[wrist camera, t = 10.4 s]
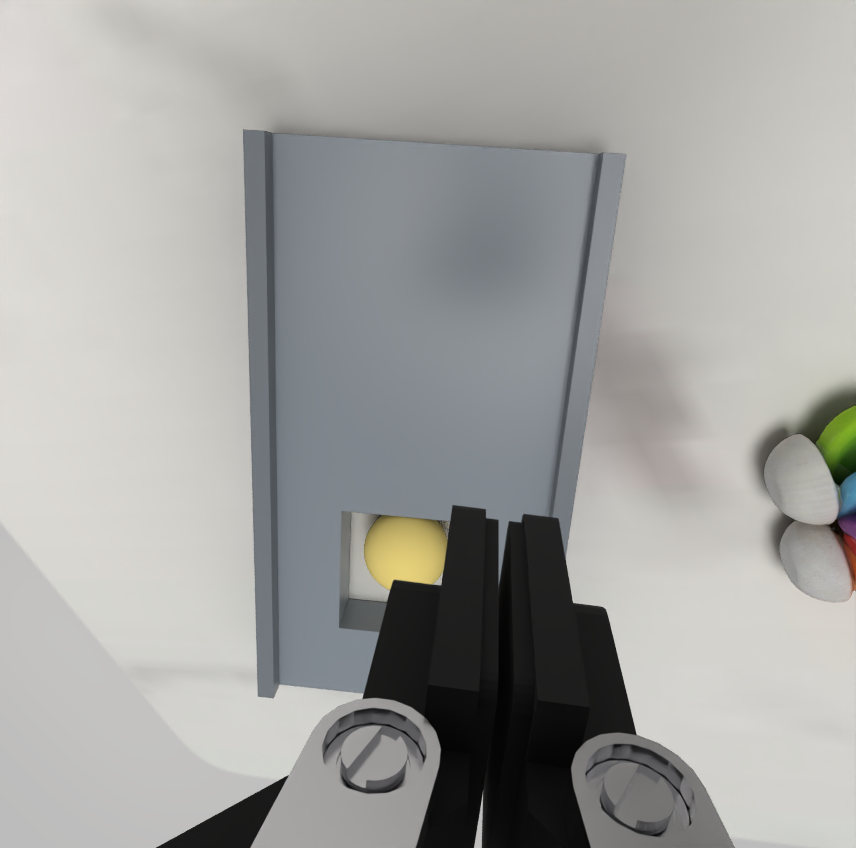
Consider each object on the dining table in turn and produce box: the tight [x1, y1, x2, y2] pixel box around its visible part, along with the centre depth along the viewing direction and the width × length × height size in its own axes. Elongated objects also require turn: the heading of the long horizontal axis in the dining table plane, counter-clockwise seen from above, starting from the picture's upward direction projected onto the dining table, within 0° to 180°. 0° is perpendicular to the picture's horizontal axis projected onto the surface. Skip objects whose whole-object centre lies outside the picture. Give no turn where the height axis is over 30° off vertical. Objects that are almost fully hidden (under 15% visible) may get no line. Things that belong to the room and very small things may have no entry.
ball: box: [364, 515, 448, 590], centre depth 32 cm, size 4×4×4 cm
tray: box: [243, 130, 626, 698], centre depth 30 cm, size 26×14×4 cm, turn 176°
